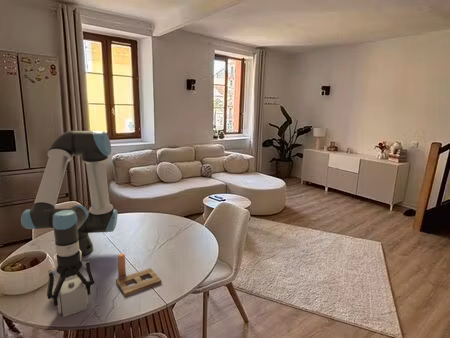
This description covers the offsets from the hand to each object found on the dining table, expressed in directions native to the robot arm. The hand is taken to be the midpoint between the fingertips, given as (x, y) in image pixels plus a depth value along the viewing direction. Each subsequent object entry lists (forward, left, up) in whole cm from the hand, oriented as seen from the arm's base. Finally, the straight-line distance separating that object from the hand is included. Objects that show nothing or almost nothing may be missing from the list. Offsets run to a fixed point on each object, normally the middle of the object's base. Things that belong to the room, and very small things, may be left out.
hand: (73, 306), depth 111 cm
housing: (0, 0, 0) cm, 0 cm away
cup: (-18, +2, 0) cm, 18 cm away
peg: (-11, +22, 0) cm, 25 cm away
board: (-1, +26, 0) cm, 26 cm away
